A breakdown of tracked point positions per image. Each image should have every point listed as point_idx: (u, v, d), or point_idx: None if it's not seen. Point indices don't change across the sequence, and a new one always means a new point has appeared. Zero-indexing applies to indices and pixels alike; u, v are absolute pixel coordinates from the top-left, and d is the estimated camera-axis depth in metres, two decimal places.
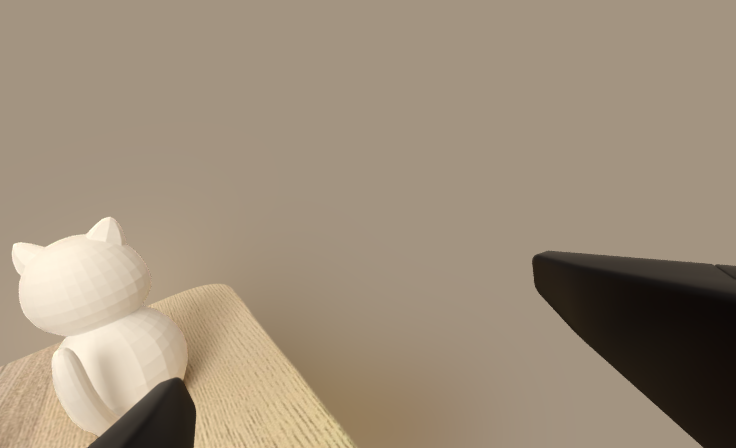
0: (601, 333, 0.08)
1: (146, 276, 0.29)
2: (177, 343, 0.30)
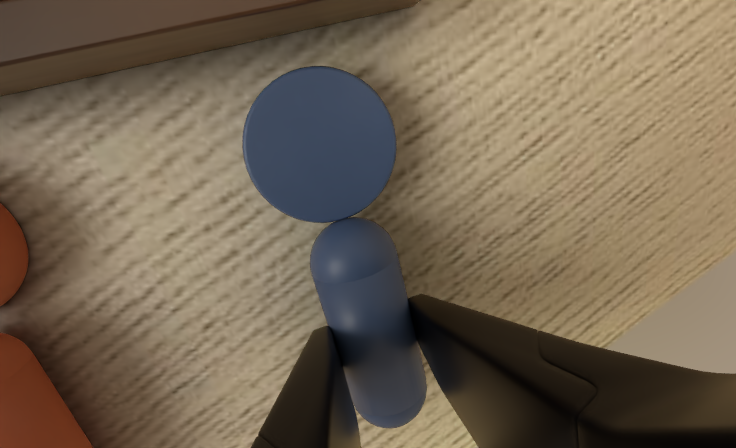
0: (452, 391, 0.07)
1: None
2: None
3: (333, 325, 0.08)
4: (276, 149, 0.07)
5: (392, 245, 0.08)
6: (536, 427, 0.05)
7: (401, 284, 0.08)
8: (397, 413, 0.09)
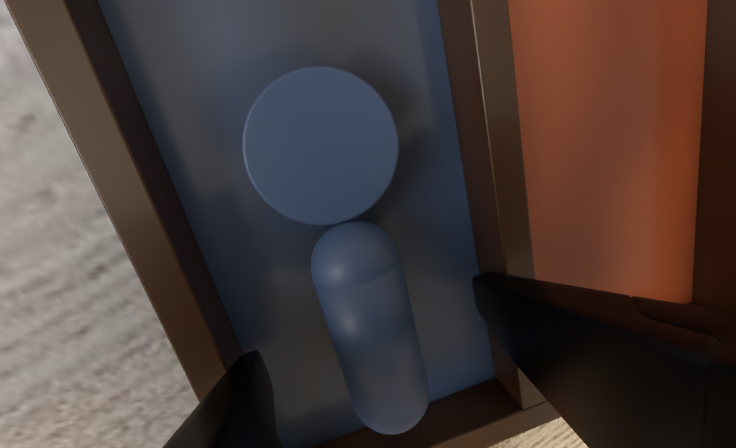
0: (530, 360, 0.08)
1: None
2: None
3: (334, 330, 0.08)
4: (276, 150, 0.07)
5: (394, 248, 0.08)
6: (650, 380, 0.05)
7: (404, 288, 0.08)
8: (399, 421, 0.08)
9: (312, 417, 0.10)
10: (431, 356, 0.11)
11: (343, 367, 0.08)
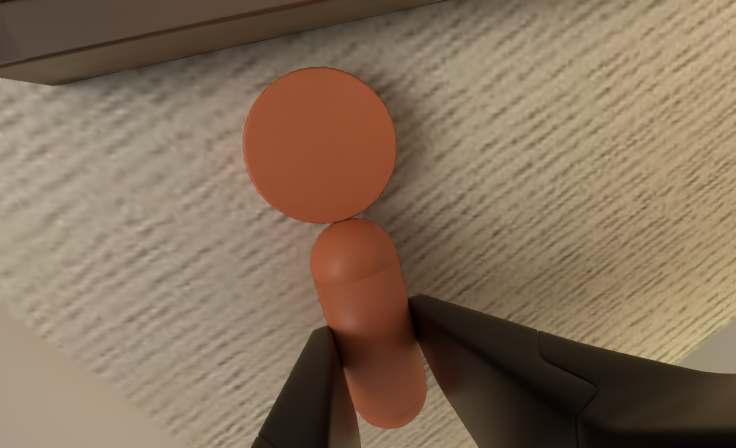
0: (452, 391, 0.07)
1: None
2: None
3: None
4: None
5: None
6: (536, 427, 0.05)
7: None
8: None
9: None
10: None
11: None
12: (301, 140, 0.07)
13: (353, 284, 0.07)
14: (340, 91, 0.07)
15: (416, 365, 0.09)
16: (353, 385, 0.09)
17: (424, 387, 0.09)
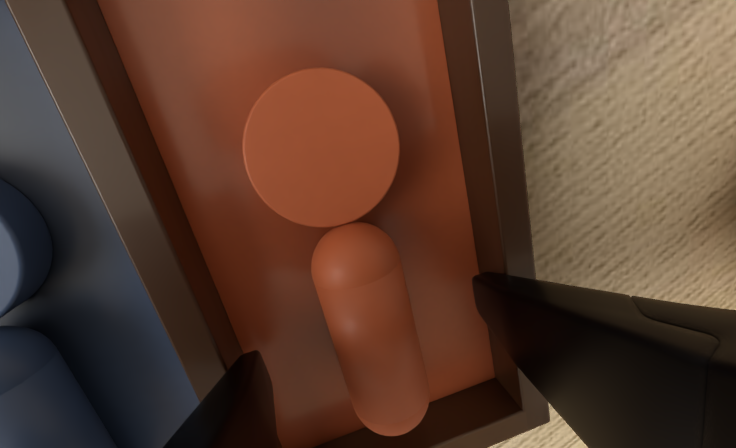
0: (530, 360, 0.08)
1: None
2: None
3: None
4: None
5: (22, 366, 0.07)
6: (649, 379, 0.05)
7: (41, 409, 0.07)
8: None
9: None
10: None
11: None
12: (302, 142, 0.07)
13: (355, 289, 0.07)
14: (342, 92, 0.07)
15: (419, 371, 0.09)
16: (354, 392, 0.08)
17: (427, 394, 0.09)
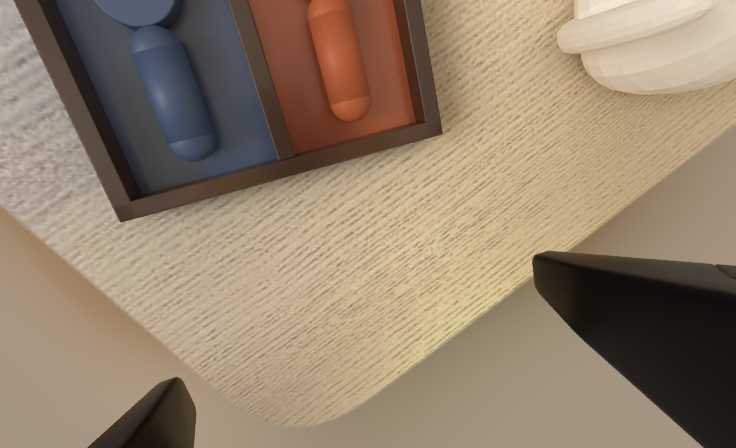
0: (601, 333, 0.08)
1: None
2: (689, 91, 0.19)
3: (144, 84, 0.15)
4: None
5: (174, 39, 0.15)
6: None
7: (182, 63, 0.15)
8: (185, 140, 0.15)
9: (157, 170, 0.17)
10: (231, 136, 0.18)
11: (154, 111, 0.15)
12: None
13: (328, 13, 0.15)
14: None
15: (363, 76, 0.17)
16: (330, 85, 0.17)
17: (368, 93, 0.17)
